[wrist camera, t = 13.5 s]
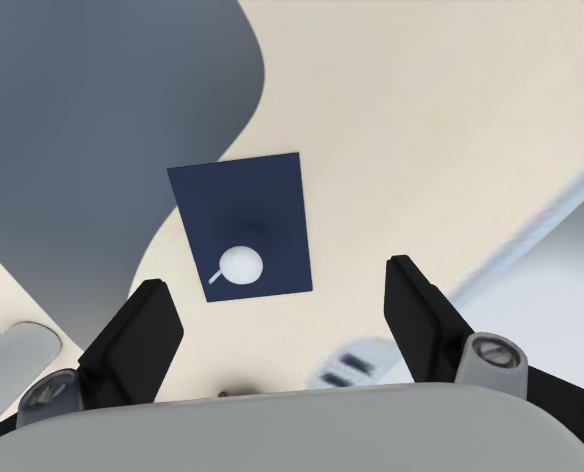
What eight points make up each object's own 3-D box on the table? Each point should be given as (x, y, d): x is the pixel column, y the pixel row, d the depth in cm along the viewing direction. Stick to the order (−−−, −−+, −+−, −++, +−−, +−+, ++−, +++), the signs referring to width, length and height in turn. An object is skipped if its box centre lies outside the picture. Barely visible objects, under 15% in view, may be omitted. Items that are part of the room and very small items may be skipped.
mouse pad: (167, 168, 32) (166, 168, 32) (298, 152, 32) (298, 152, 31) (207, 300, 40) (207, 302, 40) (312, 289, 40) (312, 291, 40)
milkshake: (222, 225, 35) (200, 263, 26) (261, 215, 35) (253, 251, 25) (233, 254, 37) (216, 300, 28) (271, 246, 36) (266, 289, 27)
